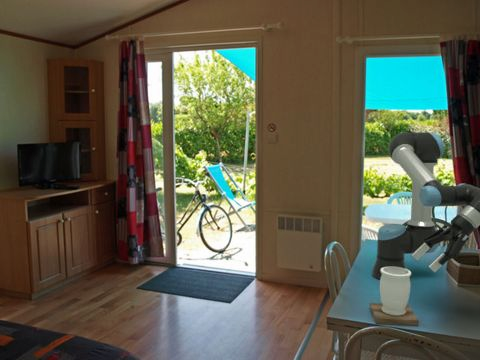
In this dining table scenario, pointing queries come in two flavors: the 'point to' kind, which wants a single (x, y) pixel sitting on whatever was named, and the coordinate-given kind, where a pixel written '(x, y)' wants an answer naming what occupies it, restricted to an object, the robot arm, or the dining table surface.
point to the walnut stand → (393, 316)
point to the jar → (394, 290)
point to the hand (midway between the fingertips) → (422, 263)
